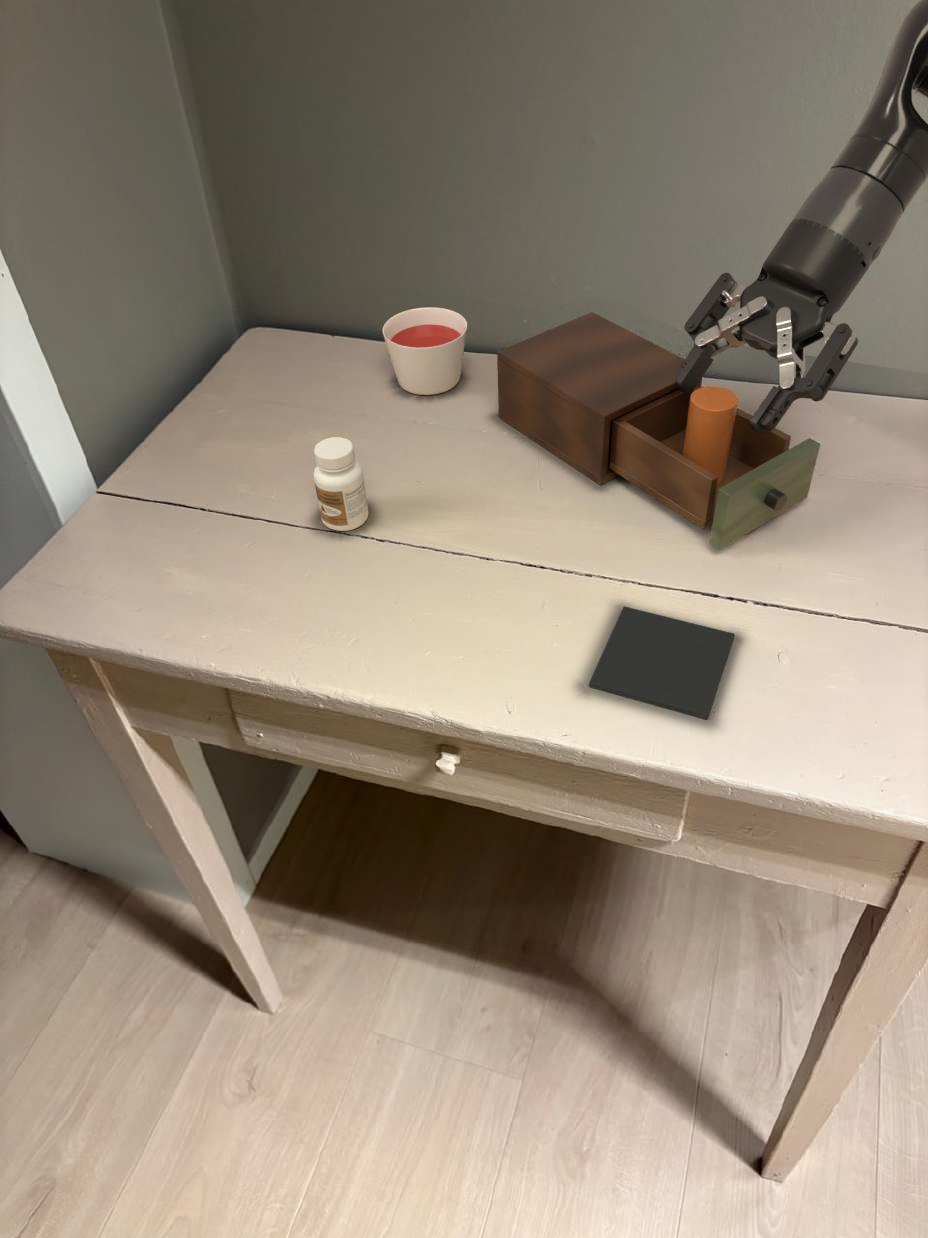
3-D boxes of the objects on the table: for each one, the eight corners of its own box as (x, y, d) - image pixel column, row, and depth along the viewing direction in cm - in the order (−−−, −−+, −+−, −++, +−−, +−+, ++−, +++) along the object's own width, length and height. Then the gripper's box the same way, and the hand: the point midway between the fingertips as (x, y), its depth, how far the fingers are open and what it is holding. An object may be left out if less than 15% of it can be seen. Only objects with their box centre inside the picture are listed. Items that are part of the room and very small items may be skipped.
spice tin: (729, 466, 88) (742, 390, 83) (719, 491, 86) (732, 414, 80) (686, 458, 90) (696, 382, 84) (675, 482, 87) (685, 405, 82)
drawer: (818, 504, 86) (832, 449, 82) (730, 557, 81) (740, 502, 77) (688, 430, 95) (695, 377, 91) (603, 474, 90) (606, 421, 86)
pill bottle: (312, 519, 89) (298, 449, 84) (347, 497, 91) (335, 427, 86) (343, 538, 87) (331, 468, 81) (378, 515, 89) (369, 445, 84)
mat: (734, 637, 75) (734, 633, 75) (707, 720, 70) (708, 715, 69) (623, 610, 78) (623, 605, 78) (589, 687, 72) (589, 682, 72)
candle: (373, 392, 105) (367, 339, 100) (412, 353, 110) (407, 301, 106) (447, 408, 102) (444, 354, 97) (483, 367, 107) (481, 314, 103)
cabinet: (694, 436, 96) (703, 368, 90) (600, 485, 91) (604, 416, 85) (589, 376, 105) (592, 311, 100) (498, 417, 100) (496, 351, 95)
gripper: (749, 194, 81) (639, 361, 85) (893, 245, 73) (765, 429, 76) (779, 238, 87) (676, 393, 91) (916, 291, 79) (797, 459, 82)
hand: (717, 409), depth 83 cm, fingers open, 8 cm apart
